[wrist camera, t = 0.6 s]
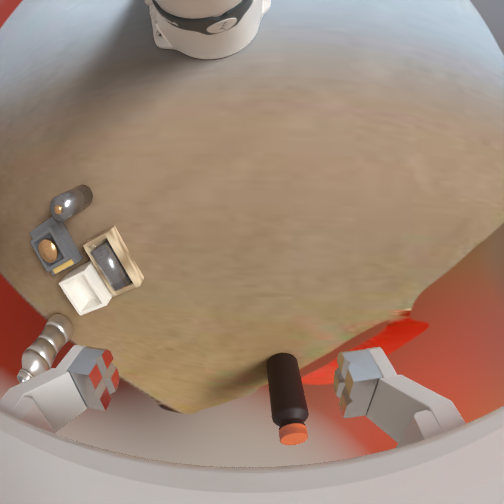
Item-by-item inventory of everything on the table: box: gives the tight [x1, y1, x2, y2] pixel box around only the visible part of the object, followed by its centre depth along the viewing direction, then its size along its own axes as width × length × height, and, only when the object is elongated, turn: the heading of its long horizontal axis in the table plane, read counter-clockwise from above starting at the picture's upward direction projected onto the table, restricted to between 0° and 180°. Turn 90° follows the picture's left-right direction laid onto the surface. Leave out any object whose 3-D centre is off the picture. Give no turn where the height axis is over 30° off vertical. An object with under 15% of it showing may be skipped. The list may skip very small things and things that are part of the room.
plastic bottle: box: [17, 314, 73, 383], centre depth 46 cm, size 6×7×20 cm
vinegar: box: [267, 353, 309, 445], centre depth 51 cm, size 7×7×20 cm
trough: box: [83, 226, 144, 296], centre depth 47 cm, size 11×6×3 cm, turn 22°
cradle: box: [30, 216, 82, 276], centre depth 45 cm, size 10×8×4 cm
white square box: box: [59, 261, 113, 315], centre depth 48 cm, size 8×8×5 cm
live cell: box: [90, 240, 131, 291], centre depth 46 cm, size 9×4×4 cm, turn 22°
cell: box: [50, 185, 93, 221], centre depth 40 cm, size 4×4×9 cm
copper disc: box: [38, 238, 59, 263], centre depth 44 cm, size 5×5×1 cm
